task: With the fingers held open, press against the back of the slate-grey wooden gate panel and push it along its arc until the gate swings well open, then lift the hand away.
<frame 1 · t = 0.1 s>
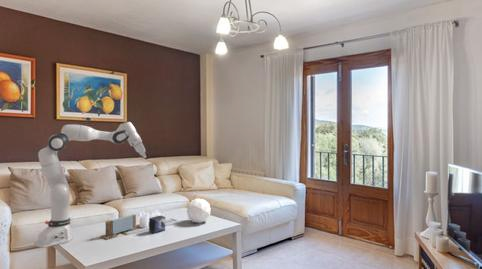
hand: (144, 157, 251), 54 cm above the table, tool tilted 30°, fingers open, 8 cm apart
gate: (123, 224, 242), point 6 cm above the table, hinge at 0.0°
small box: (157, 231, 246), on the table
geometric orb: (198, 222, 271), on the table
gate post: (108, 237, 232), on the table
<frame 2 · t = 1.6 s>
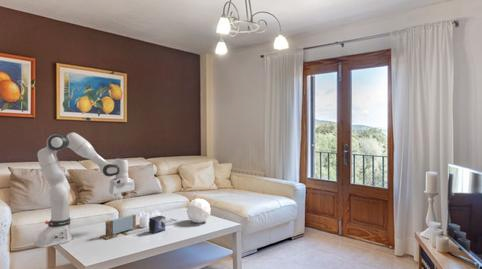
hand: (122, 198, 247), 24 cm above the table, tool pointing down, fingers open, 8 cm apart
nothing on the table moved.
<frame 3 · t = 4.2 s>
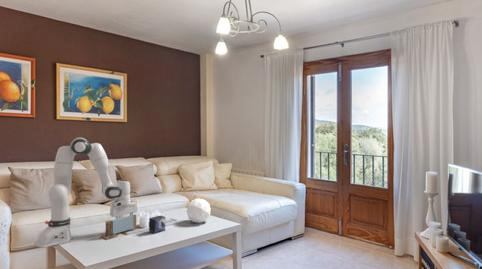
hand: (124, 220, 245), 8 cm above the table, tool pointing down, fingers open, 8 cm apart
gate: (124, 224, 242), point 6 cm above the table, hinge at -1.8°, touching gripper
everything else where it was.
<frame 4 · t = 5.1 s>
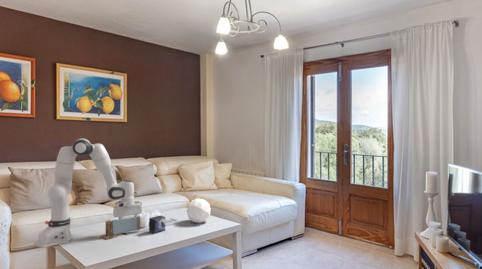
hand: (127, 221, 242), 8 cm above the table, tool pointing down, fingers closed on gate, 8 cm apart
gate: (126, 225, 240), point 6 cm above the table, hinge at -18.3°, touching gripper
everything else where it was.
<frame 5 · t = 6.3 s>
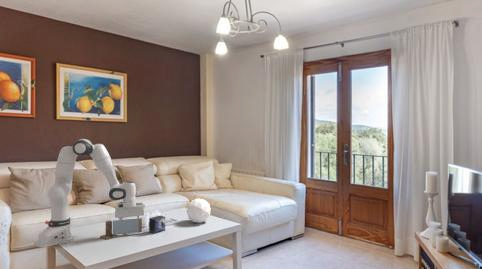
hand: (129, 222, 239), 8 cm above the table, tool pointing down
gate: (127, 226, 237), point 6 cm above the table, hinge at -35.0°, touching gripper
everything else where it was.
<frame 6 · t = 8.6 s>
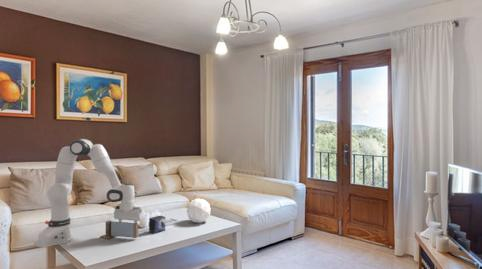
hand: (128, 226, 231), 8 cm above the table, tool pointing down
gate: (124, 229, 229), point 6 cm above the table, hinge at -70.0°, touching gripper
everything else where it was.
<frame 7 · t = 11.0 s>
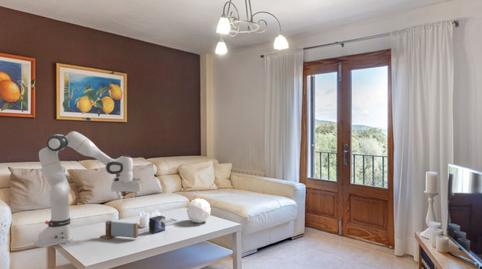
hand: (126, 197, 239), 26 cm above the table, tool pointing down, fingers open, 8 cm apart
gate: (124, 229, 229), point 6 cm above the table, hinge at -70.2°
everything else where it was.
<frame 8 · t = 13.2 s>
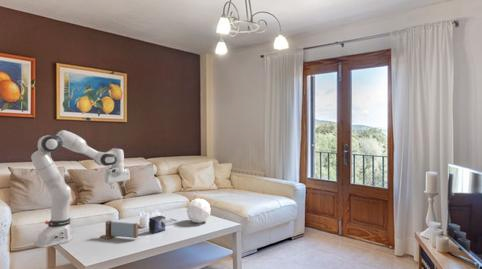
hand: (117, 187, 252), 31 cm above the table, tool pointing down, fingers open, 8 cm apart
nothing on the table moved.
at the end: gate at -70° (first picture: +0°); small box moved 0.3 cm from its start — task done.
